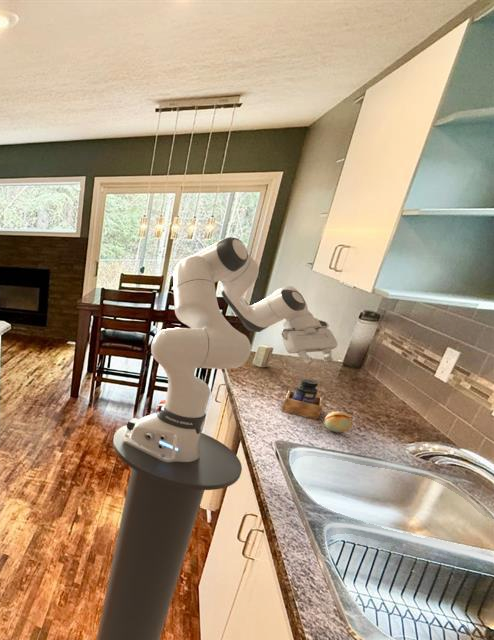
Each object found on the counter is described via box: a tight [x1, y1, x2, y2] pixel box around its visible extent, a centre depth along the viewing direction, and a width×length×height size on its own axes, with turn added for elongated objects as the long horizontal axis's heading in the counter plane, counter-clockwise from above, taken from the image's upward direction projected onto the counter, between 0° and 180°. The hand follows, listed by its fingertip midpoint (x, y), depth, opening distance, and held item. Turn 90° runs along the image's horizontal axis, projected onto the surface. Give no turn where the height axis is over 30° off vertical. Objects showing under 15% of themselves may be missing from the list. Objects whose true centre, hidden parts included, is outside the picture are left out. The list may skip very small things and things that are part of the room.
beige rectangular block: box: [252, 344, 275, 368], centre depth 191 cm, size 5×4×10 cm
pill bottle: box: [292, 378, 319, 404], centre depth 144 cm, size 6×6×11 cm
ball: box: [323, 411, 353, 433], centre depth 131 cm, size 7×7×7 cm
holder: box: [281, 389, 324, 421], centre depth 146 cm, size 11×11×5 cm
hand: (319, 362), depth 137 cm, fingers open, 8 cm apart
